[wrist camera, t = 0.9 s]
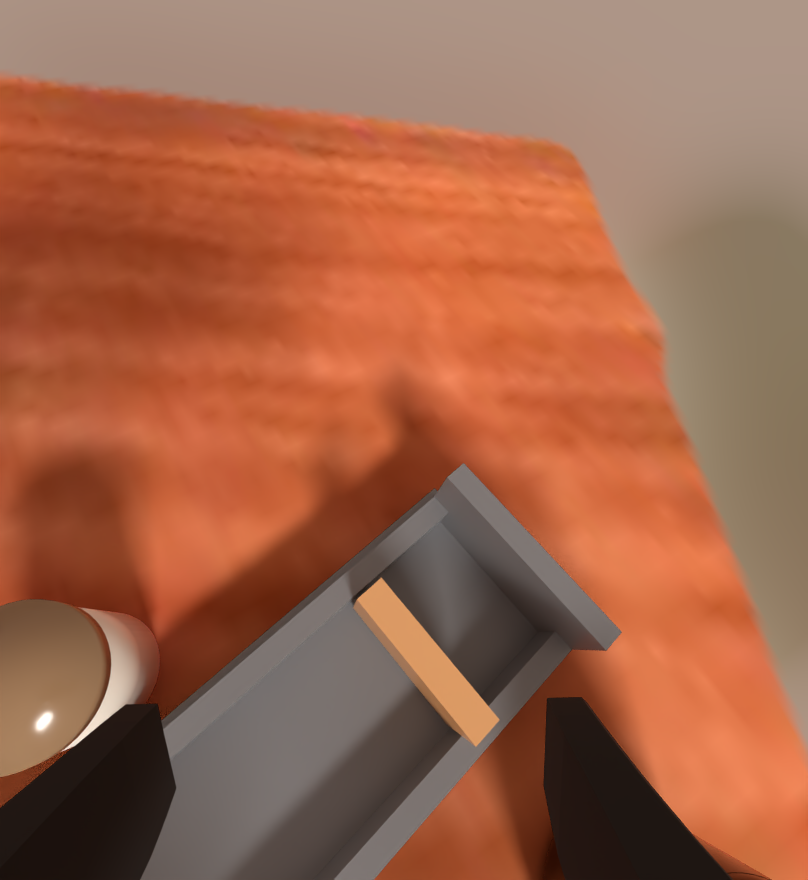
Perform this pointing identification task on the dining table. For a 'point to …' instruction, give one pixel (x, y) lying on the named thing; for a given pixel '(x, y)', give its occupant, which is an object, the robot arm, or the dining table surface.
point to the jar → (66, 675)
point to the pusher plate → (425, 663)
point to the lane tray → (365, 700)
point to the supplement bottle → (738, 871)
